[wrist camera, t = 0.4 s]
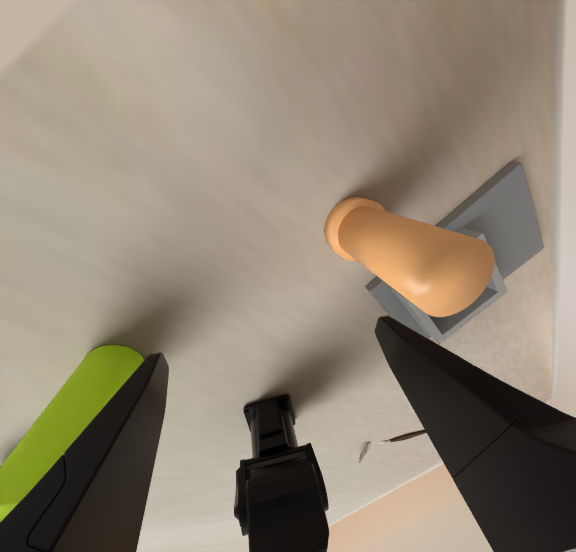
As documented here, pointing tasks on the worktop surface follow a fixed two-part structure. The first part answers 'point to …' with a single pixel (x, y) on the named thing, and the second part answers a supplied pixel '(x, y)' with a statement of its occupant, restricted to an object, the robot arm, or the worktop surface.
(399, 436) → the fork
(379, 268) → the orange knob handle
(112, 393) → the soap dispenser
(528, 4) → the worktop surface
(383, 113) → the worktop surface
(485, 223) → the housing
